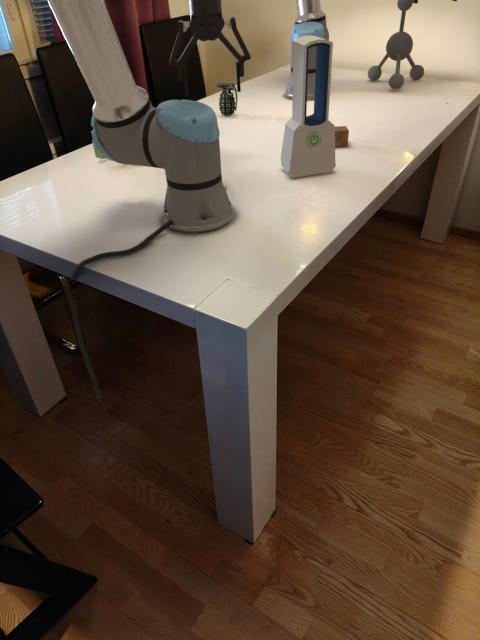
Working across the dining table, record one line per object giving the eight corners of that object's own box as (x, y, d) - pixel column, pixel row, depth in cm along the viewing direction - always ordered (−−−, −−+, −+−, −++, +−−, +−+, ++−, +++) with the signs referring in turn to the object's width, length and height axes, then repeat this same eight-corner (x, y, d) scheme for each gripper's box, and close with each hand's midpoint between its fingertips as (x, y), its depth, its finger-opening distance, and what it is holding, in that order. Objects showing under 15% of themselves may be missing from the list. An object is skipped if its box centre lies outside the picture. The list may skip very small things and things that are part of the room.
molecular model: (441, 85, 188) (459, -9, 169) (393, 93, 182) (406, -3, 164) (404, 74, 205) (416, -12, 187) (359, 81, 200) (367, -7, 181)
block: (344, 142, 142) (345, 125, 139) (347, 147, 139) (349, 130, 136) (330, 143, 142) (331, 126, 139) (332, 147, 139) (334, 131, 136)
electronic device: (289, 178, 122) (291, 42, 103) (279, 168, 128) (280, 37, 109) (335, 171, 124) (345, 37, 106) (323, 161, 130) (331, 32, 111)
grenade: (217, 117, 168) (214, 86, 162) (221, 112, 172) (219, 82, 166) (235, 117, 166) (233, 86, 160) (239, 113, 171) (238, 82, 165)
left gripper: (256, -11, 116) (259, 85, 129) (151, -3, 115) (165, 92, 129) (259, -8, 110) (262, 92, 123) (149, 0, 110) (163, 100, 123)
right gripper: (481, -79, 160) (466, -2, 173) (405, -74, 160) (396, 3, 173) (491, -80, 154) (474, 0, 167) (412, -75, 154) (402, 5, 167)
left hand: (212, 92), depth 126 cm, fingers open, 13 cm apart
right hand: (434, 2), depth 170 cm, fingers open, 13 cm apart
